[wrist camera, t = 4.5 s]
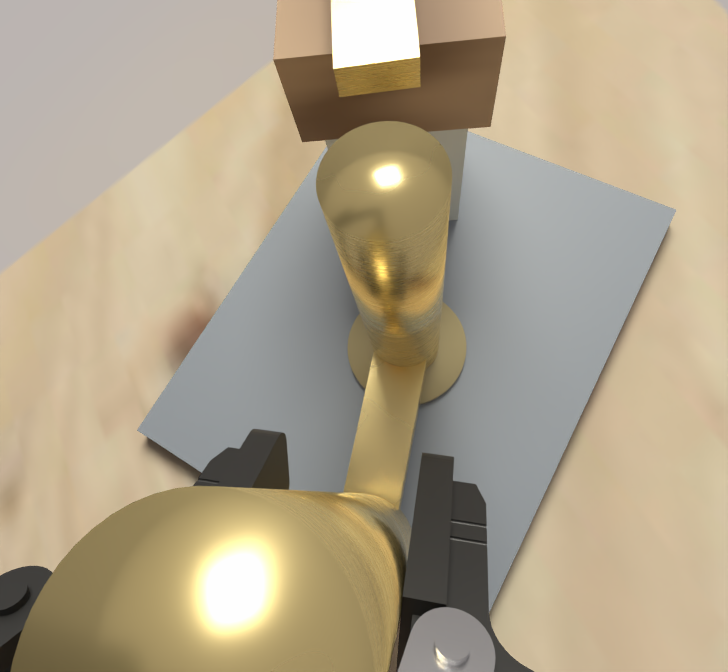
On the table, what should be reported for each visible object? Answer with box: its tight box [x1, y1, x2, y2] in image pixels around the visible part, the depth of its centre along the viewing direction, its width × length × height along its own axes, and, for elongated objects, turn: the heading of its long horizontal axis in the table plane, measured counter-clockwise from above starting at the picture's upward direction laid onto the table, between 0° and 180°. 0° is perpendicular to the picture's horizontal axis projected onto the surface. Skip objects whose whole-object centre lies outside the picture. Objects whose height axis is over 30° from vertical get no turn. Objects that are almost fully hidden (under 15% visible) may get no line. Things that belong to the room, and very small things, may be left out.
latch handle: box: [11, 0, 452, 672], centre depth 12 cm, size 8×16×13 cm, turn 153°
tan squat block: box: [273, 0, 506, 142], centre depth 14 cm, size 6×6×3 cm
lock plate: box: [137, 129, 676, 612], centre depth 17 cm, size 14×17×7 cm
